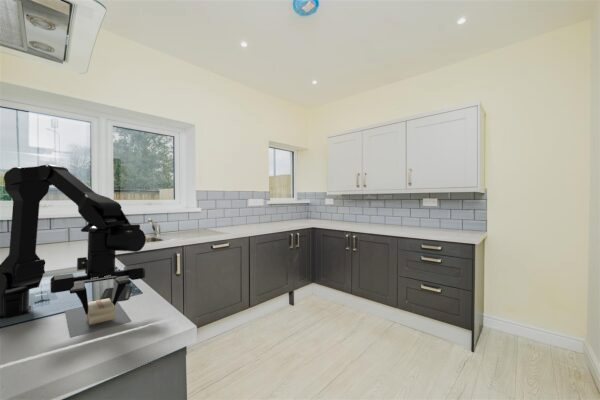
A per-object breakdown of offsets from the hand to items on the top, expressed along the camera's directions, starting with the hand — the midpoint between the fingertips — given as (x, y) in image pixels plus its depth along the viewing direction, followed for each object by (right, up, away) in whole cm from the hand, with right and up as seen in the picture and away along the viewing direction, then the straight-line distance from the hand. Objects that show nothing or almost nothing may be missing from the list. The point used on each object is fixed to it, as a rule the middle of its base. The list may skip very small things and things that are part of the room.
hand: (100, 310), depth 67 cm
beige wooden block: (0, -1, 0) cm, 1 cm away
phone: (-10, -4, +20) cm, 22 cm away
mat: (-4, -3, +4) cm, 6 cm away
